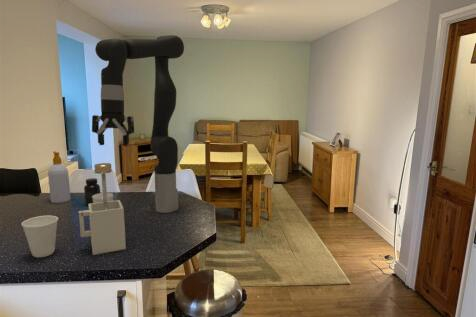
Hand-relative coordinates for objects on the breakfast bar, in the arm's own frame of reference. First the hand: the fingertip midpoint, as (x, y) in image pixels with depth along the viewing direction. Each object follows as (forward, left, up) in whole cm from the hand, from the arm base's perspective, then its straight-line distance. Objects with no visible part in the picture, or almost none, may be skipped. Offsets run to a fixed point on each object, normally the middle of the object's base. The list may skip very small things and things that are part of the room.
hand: (113, 145), depth 115 cm
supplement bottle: (+7, -41, -33) cm, 53 cm away
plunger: (+5, +10, -23) cm, 26 cm away
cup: (+24, +7, -33) cm, 41 cm away
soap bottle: (+21, -54, -33) cm, 66 cm away
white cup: (+4, -18, -33) cm, 37 cm away
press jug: (+6, +10, -33) cm, 35 cm away
